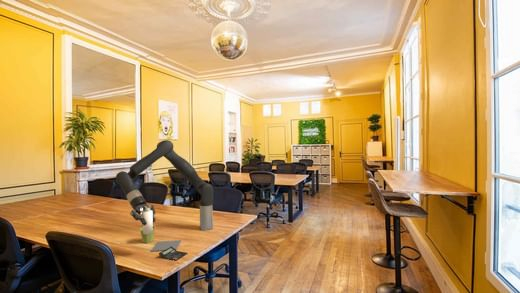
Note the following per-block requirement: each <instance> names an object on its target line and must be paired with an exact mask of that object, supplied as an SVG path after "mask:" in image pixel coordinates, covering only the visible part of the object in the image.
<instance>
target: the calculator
mask: <svg viewBox="0 0 520 293" xmlns="http://www.w3.org/2000/svg"><path fill="white" fill-rule="evenodd" d="M158 255H159V256H160V257H161V258H162V259H164V260H167V259H169V260H168V261H173V260H174V261H173V262H177V261H179V260H180V259H181V258H184V257H185V256H186V255H188V252H185V251H178V250H177V249H176V250H175V249H174V248H173V247H172V246H171V247H169V248H168V249H166V250H164V251H159V253H158Z"/></svg>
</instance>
